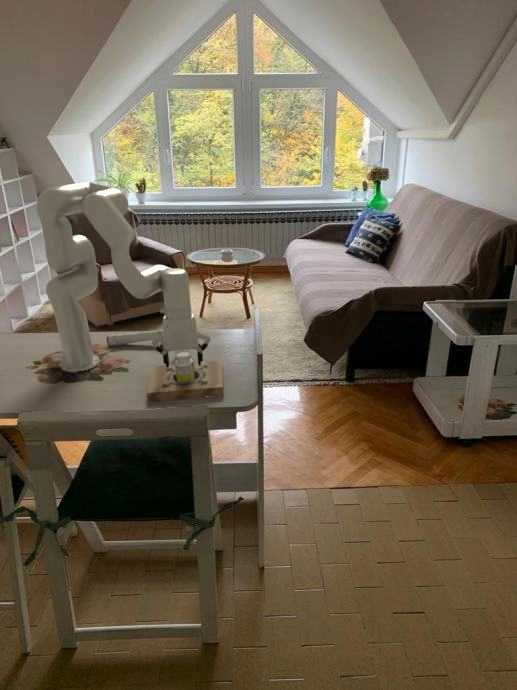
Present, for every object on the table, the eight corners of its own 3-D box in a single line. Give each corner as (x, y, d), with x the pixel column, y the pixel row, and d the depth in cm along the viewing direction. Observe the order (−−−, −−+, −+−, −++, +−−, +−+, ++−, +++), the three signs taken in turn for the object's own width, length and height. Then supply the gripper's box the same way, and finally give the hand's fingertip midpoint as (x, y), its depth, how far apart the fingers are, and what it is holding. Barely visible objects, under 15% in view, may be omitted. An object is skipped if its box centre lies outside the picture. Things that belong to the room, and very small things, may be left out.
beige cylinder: (195, 352, 191) (193, 333, 188) (191, 361, 184) (189, 342, 182) (176, 352, 191) (174, 334, 189) (171, 361, 185) (169, 342, 182)
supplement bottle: (187, 379, 172) (183, 349, 168) (199, 383, 169) (196, 353, 165) (173, 385, 169) (170, 355, 164) (186, 390, 165) (182, 360, 161)
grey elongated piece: (109, 332, 202) (174, 322, 198) (114, 349, 204) (179, 339, 201) (104, 338, 197) (171, 328, 193) (110, 355, 200) (176, 345, 196)
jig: (148, 402, 160) (146, 393, 159) (154, 374, 177) (153, 366, 175) (223, 396, 161) (222, 387, 160) (222, 369, 178) (221, 360, 176)
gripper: (146, 318, 155) (153, 372, 162) (208, 314, 156) (212, 368, 163) (149, 308, 162) (156, 361, 169) (208, 305, 163) (212, 357, 170)
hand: (183, 364), depth 166 cm, fingers open, 9 cm apart
